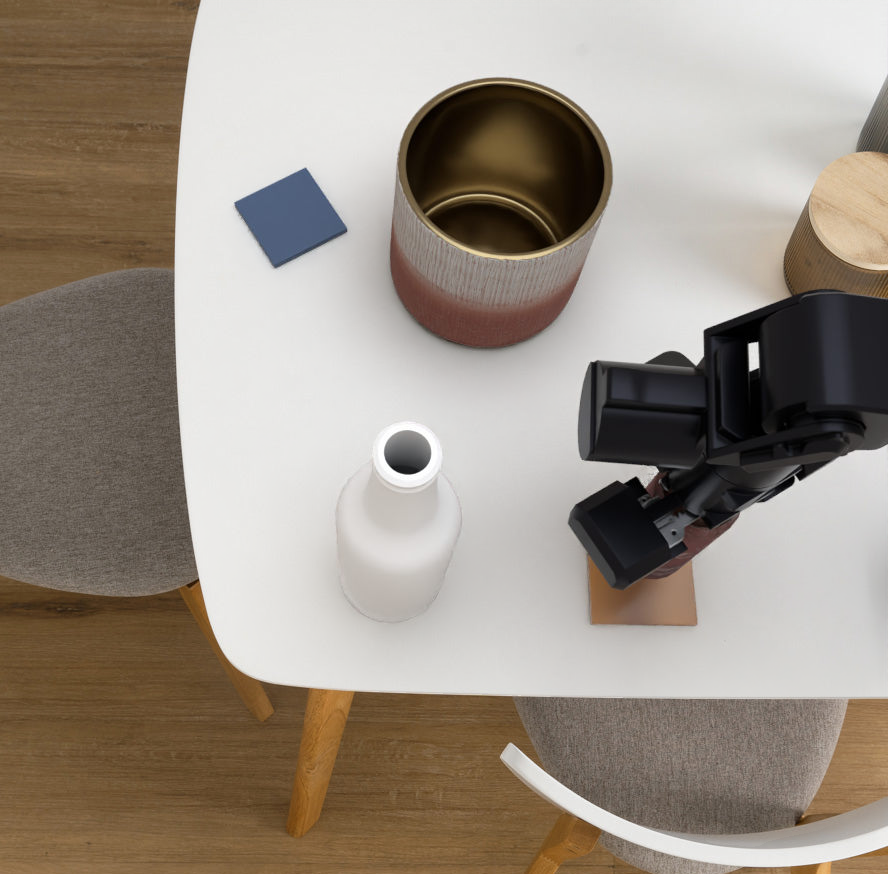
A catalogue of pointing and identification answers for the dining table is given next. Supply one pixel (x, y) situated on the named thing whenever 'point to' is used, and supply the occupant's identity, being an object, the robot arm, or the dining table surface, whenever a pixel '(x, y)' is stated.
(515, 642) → the dining table surface
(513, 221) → the planter
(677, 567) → the can
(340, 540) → the alcohol
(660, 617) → the caramel mat
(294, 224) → the slate mat
